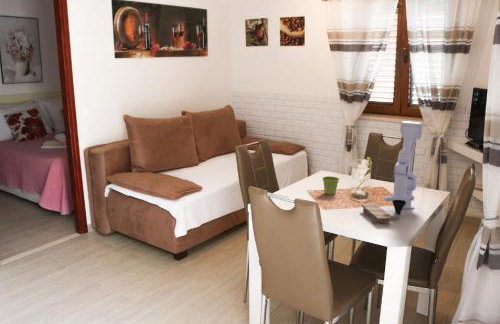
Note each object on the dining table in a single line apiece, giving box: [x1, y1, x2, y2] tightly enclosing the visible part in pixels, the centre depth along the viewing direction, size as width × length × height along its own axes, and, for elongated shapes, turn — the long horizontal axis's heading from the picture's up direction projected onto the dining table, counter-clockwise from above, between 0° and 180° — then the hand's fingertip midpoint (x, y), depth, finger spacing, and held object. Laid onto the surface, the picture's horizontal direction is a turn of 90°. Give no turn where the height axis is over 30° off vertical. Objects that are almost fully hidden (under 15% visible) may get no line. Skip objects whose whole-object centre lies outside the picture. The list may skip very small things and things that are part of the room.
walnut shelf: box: [360, 203, 393, 224], centre depth 218 cm, size 20×8×4 cm, turn 9°
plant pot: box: [322, 176, 340, 196], centre depth 254 cm, size 9×9×9 cm
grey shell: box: [383, 209, 401, 221], centre depth 219 cm, size 8×10×2 cm
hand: (397, 214), depth 220 cm, fingers closed
